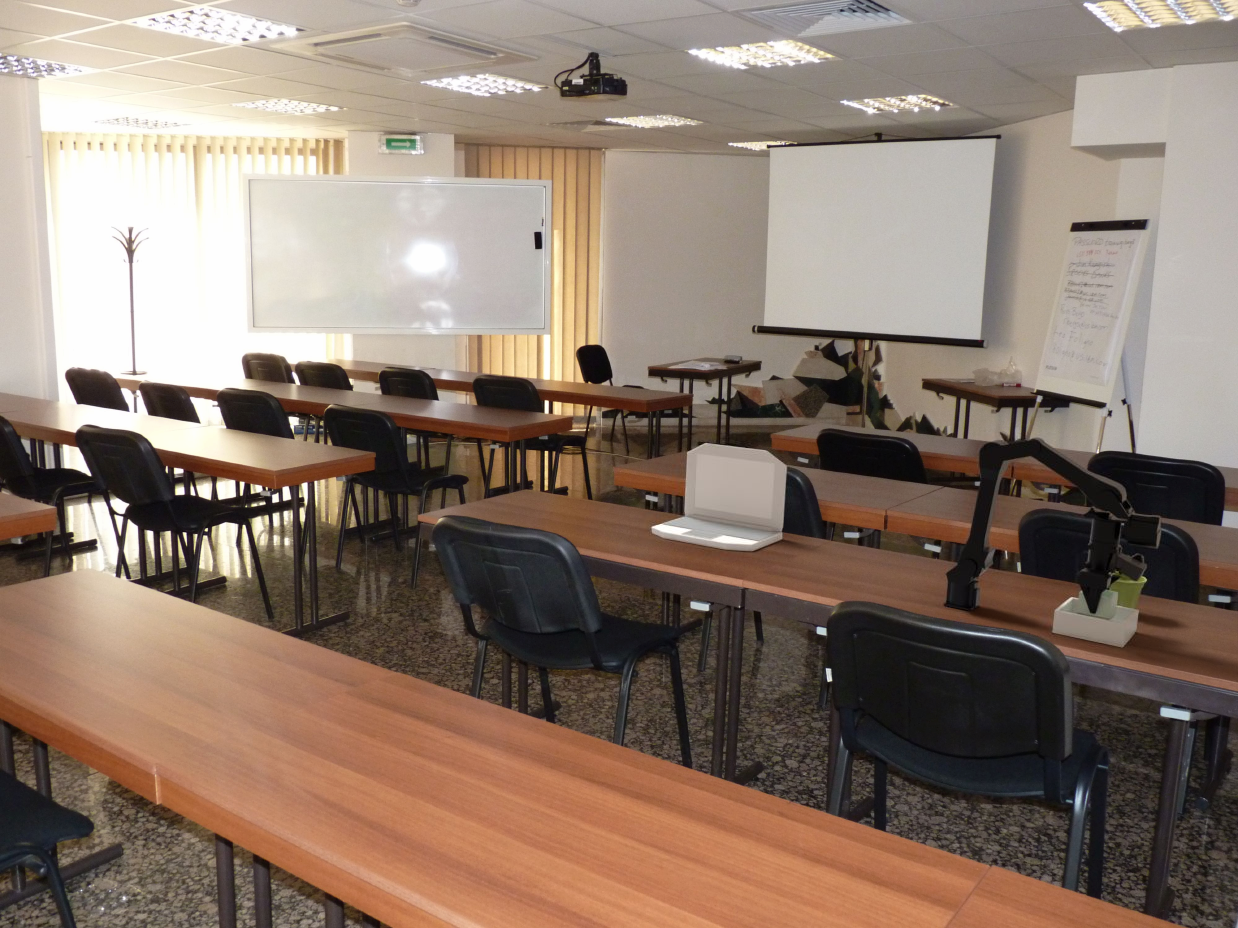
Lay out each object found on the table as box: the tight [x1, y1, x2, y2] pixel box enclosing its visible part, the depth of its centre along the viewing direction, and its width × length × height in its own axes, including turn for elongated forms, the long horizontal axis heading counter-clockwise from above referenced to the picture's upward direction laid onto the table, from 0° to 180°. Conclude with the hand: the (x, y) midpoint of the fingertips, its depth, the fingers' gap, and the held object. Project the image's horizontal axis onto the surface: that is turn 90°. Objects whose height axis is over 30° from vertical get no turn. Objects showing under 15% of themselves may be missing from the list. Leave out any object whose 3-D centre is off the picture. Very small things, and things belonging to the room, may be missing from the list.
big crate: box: [1051, 597, 1139, 648], centre depth 218 cm, size 14×14×5 cm
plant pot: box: [1109, 571, 1148, 610], centre depth 234 cm, size 9×9×9 cm
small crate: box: [1077, 589, 1118, 620], centre depth 218 cm, size 6×6×5 cm
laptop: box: [651, 442, 788, 552], centre depth 295 cm, size 33×24×26 cm
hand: (1096, 609), depth 218 cm, fingers closed on small crate, 6 cm apart
